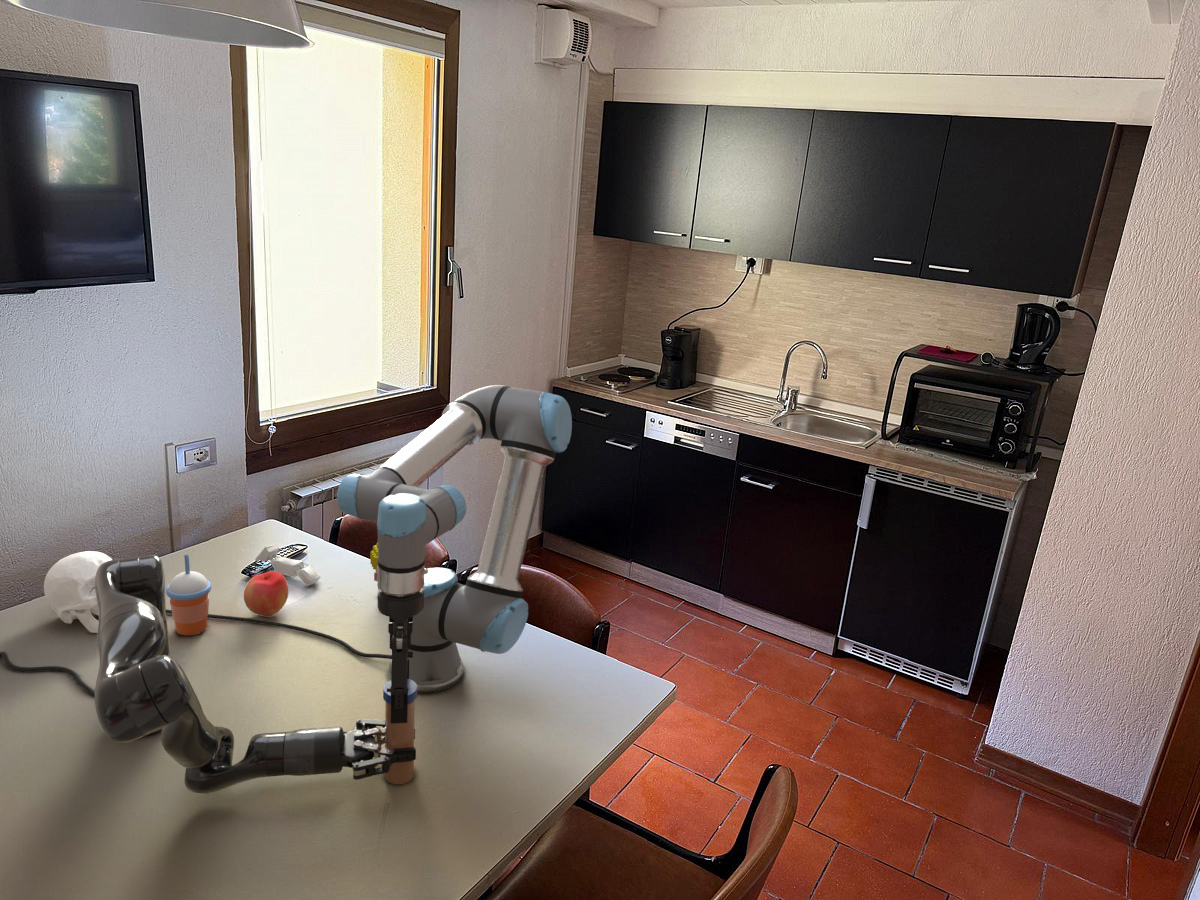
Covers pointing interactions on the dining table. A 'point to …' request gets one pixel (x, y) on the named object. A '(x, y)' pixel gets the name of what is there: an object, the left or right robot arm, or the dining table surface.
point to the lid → (411, 691)
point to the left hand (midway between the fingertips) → (414, 743)
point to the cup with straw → (189, 600)
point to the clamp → (288, 565)
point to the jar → (400, 744)
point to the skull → (75, 588)
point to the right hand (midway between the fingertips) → (400, 706)
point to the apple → (266, 593)
